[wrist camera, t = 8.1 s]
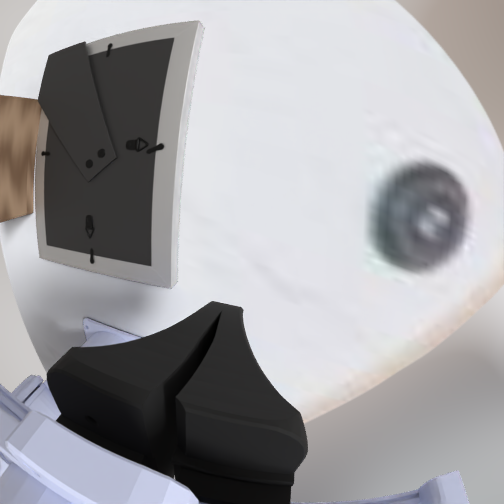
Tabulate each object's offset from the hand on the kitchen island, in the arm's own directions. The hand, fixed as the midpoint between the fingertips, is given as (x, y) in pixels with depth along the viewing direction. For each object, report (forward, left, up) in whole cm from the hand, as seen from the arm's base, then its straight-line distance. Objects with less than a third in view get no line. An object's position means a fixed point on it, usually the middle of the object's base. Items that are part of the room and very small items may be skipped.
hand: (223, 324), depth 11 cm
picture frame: (+7, +14, -10) cm, 18 cm away
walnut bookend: (+6, +25, -9) cm, 27 cm away
